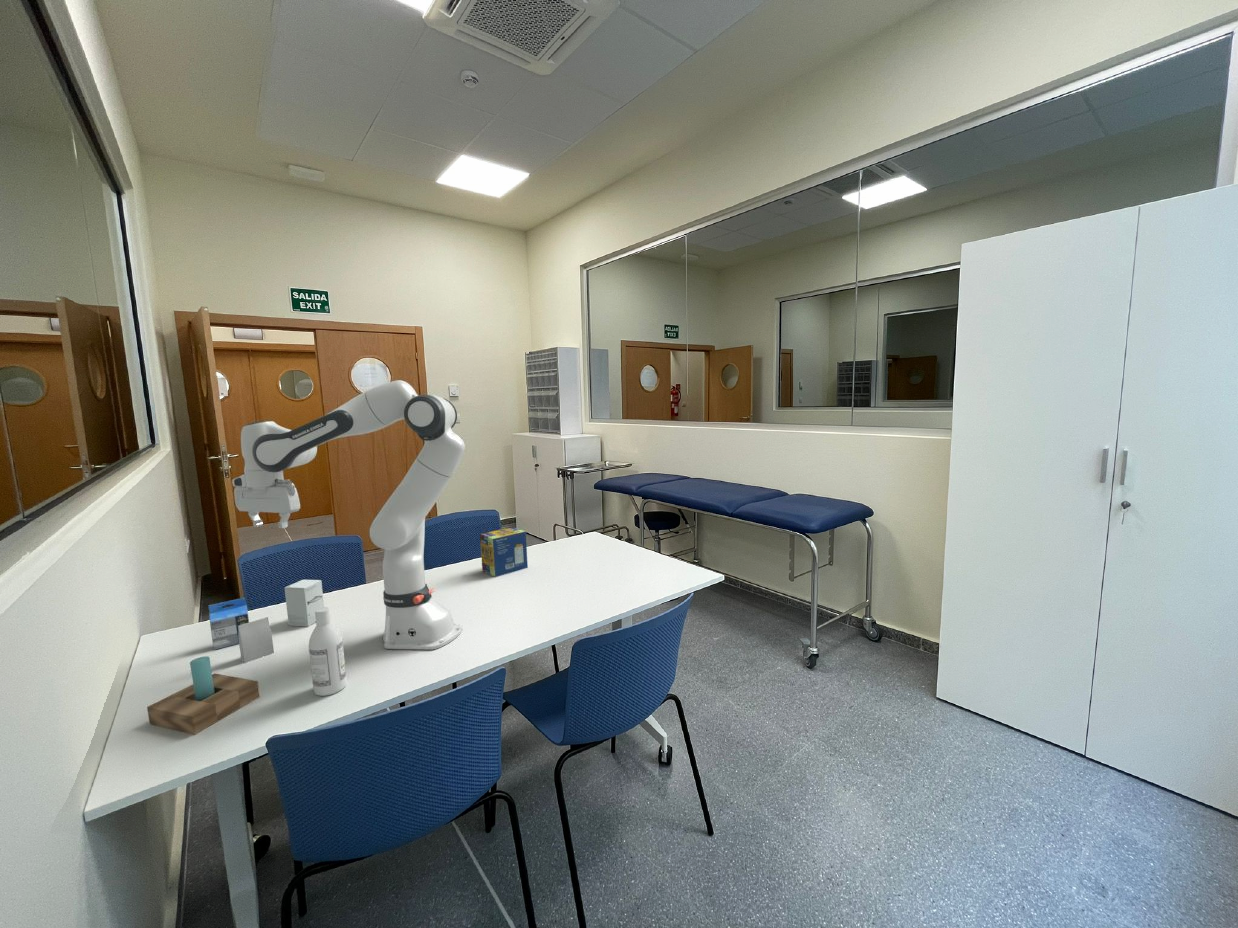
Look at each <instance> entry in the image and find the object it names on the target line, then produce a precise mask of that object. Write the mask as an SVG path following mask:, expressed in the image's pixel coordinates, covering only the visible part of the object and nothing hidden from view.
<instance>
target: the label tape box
mask: <svg viewBox="0 0 1238 928" xmlns="http://www.w3.org/2000/svg"><path fill="white" fill-rule="evenodd" d="M227 605H229V606H227ZM230 605H232V606H230ZM226 606H227V607H226ZM208 610H209V611H208V612H209V614H208V616H209V626H210V633H211V640H212V646H213V650H219V649H222V648H226V647H230V646H233V645H234V646H235V645H239V639H238V626H239V625H242V624H245V623H249V622H250V620H249V619H250V618H249V612H248V605H247V602H246V597H242V598H236V599H233V600H228V601H224V602H223V601H222V602H218V603H214V604H209V605H208Z"/></svg>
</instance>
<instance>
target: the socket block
mask: <svg viewBox="0 0 1238 928" xmlns="http://www.w3.org/2000/svg"><path fill="white" fill-rule="evenodd" d="M212 678H213V685H214V692H215V694H213V695H212V696H210V697H208V698H206V699H204V700H202V701H196V699H195V693H194V686H193V683H192V684H190V685H188V686H186V687H184V688H182V689H181V690H178V691H177V692H174V693H172V694H171V695H168V696H167V697H165V698H163V699H160V700H159V701H157V702H154V703H152V704H151V705H148V706H147V707H146V710H147V715H148V721H149V725H152V726H157V727H160V728H161V727H162V728H165V729H170V730H174V731H178V732H183V733H187V734H190V735H191V734H192V735H197V734H199V733H200V732H202V731H204V730H206V729H208V728H209V727H210V726H212V725H214V724H216V723H218V722H220V720H221V721H222V719H225V718H226V717H228V716H229V715H231V714H233V713H234V712H236V711H238V710H240V709H241V708H243V707H245V706H246V705H248V704H249V703H251V702H253V701H255V700H256V699H257V700H258V698H260V691H259V690H260V689H259V682H258V680H254V679H248V678H243V677H238V676H237V677H236V676H232V675H226V674H219V673H212Z"/></svg>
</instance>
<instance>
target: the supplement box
mask: <svg viewBox="0 0 1238 928" xmlns="http://www.w3.org/2000/svg"><path fill="white" fill-rule="evenodd" d="M284 596H285V604H286V605H285V606H286V614H287V622H288V626H290V627H291V626H292V627H305V628H307V627H310V626H311V625H313V624H316V618H315V610H317V609H319V608H323V607H325V602H324V592H323V582H322V580H321V579H301V580H298V581H297V582H295V583H292V584H289V585H287V586H285V587H284Z"/></svg>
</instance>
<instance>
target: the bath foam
mask: <svg viewBox="0 0 1238 928" xmlns="http://www.w3.org/2000/svg"><path fill="white" fill-rule="evenodd" d="M315 618H316V622H315V624H316V625H315V627H314V629H313V631H312V633H311V635H310V637H309V639H308V640H309V641H308V652H309V653H308V654H309V660H310V661H309V662H310V670H311V678H312V685H313V693H314V694H315V695H317V696H320V697H321V696H322V697H325V696H332V695H335V694H336V693H338V692H340V691H342V690H343V689H344V688H345V687H346V686H347V683H348V682H347V671H346V662H345V654H344V653H345V650H344V644H343V642H344V641H343V638H342V634H341V631H340V630H339V629H338V627H336V626H335V625H334V624H333V623H332V622H331V614H330V608H329V607H328V606H327V607H325V606H324V607H323V608H319V609H317V610H315Z"/></svg>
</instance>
